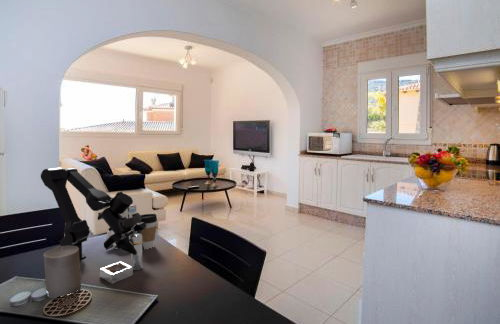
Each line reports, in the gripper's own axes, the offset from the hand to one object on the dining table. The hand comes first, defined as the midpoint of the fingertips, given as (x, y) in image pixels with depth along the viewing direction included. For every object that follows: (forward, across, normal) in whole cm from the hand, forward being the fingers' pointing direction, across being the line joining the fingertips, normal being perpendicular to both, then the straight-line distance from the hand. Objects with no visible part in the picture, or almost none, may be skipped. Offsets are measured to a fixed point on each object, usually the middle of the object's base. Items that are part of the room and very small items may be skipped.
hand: (139, 252), depth 112 cm
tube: (+4, 0, +6) cm, 7 cm away
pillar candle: (-4, -21, +15) cm, 26 cm away
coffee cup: (-2, +20, +13) cm, 24 cm away
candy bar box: (-16, +29, +26) cm, 42 cm away
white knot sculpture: (-11, +17, +22) cm, 30 cm away
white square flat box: (+2, -7, +8) cm, 11 cm away
